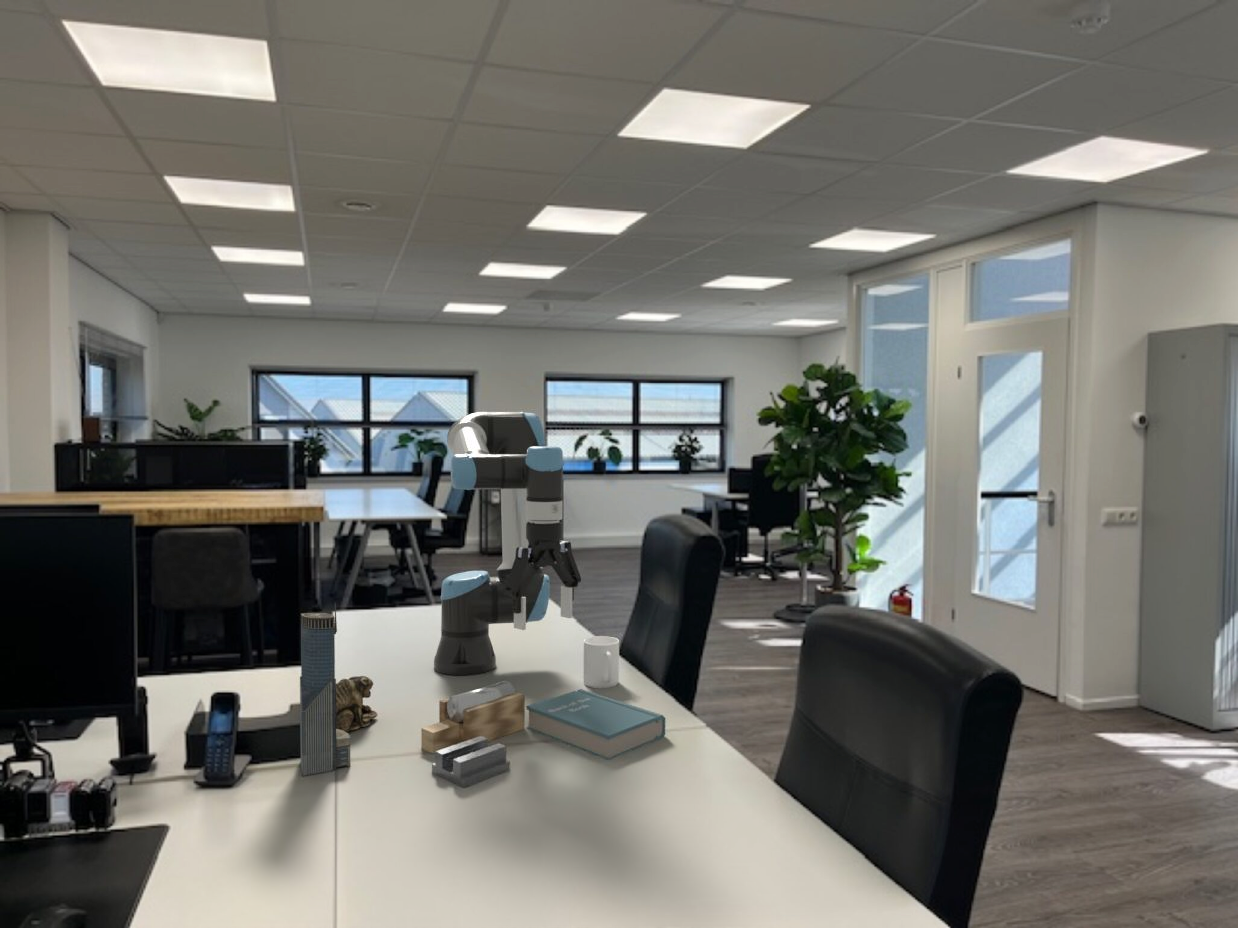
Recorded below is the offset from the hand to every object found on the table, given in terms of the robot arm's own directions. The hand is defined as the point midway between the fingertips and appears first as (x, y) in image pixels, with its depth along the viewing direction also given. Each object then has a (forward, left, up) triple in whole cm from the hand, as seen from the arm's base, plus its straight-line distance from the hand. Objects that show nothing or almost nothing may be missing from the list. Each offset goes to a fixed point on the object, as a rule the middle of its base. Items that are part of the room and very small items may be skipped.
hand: (543, 622), depth 175 cm
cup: (-4, +23, -20) cm, 30 cm away
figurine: (-22, -32, -20) cm, 44 cm away
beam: (-1, -18, -19) cm, 27 cm away
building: (-9, -45, -20) cm, 50 cm away
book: (+15, 0, -20) cm, 25 cm away
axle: (-1, -15, -13) cm, 20 cm away
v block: (+12, -28, -19) cm, 36 cm away
